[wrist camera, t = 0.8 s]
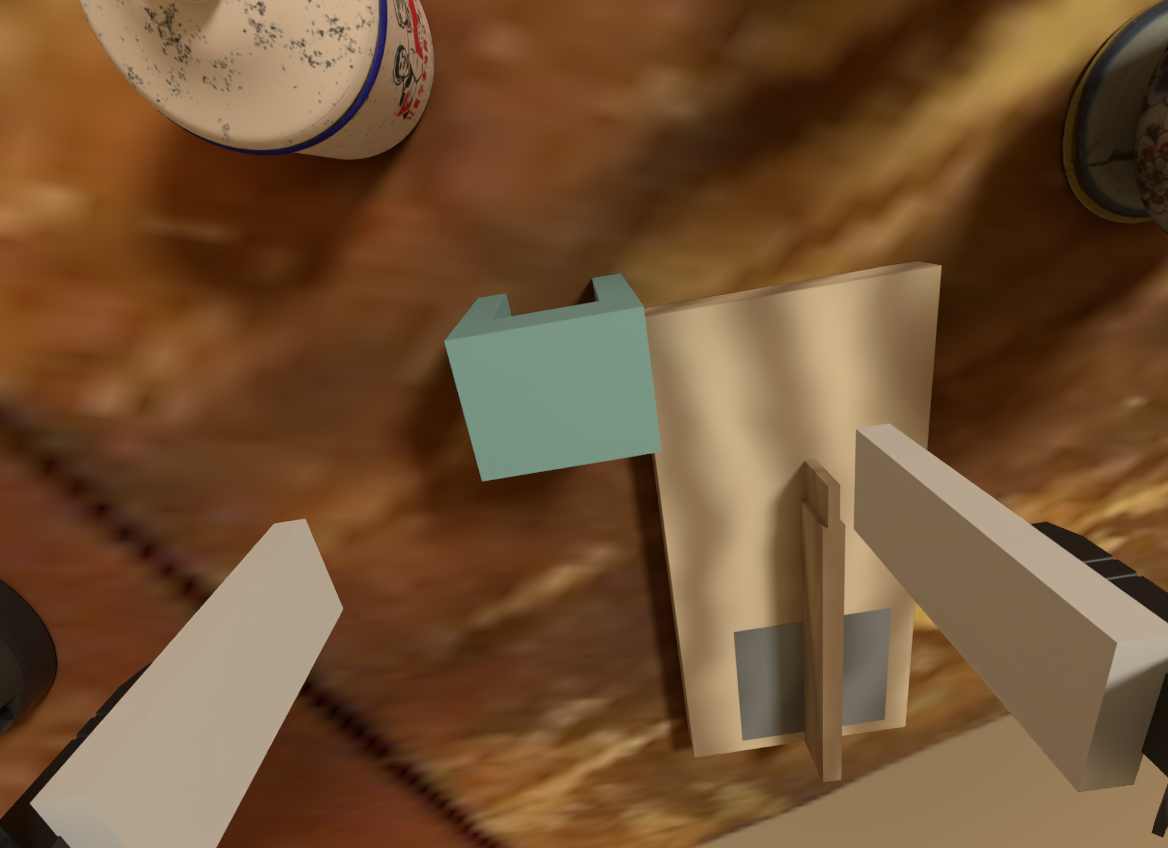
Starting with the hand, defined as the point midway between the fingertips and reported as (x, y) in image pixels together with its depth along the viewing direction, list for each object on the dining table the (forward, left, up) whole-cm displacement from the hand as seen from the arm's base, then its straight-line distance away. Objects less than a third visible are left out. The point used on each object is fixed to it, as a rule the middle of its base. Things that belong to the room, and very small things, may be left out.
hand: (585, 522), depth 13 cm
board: (+11, -15, -18) cm, 26 cm away
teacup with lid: (-8, +16, -18) cm, 26 cm away
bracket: (-1, 0, -18) cm, 18 cm away
